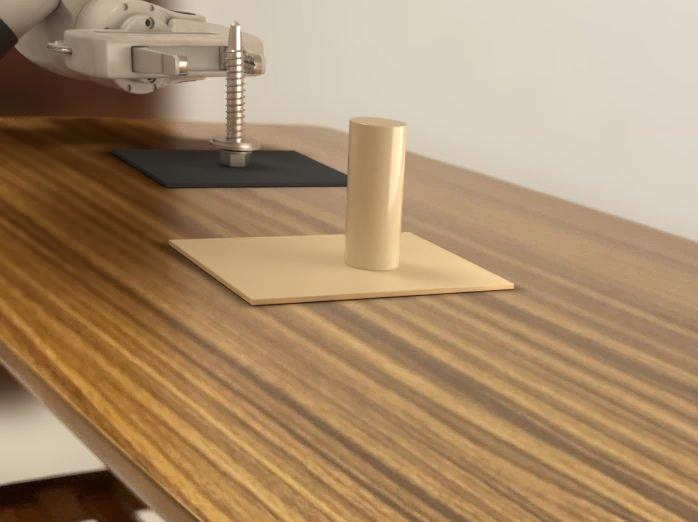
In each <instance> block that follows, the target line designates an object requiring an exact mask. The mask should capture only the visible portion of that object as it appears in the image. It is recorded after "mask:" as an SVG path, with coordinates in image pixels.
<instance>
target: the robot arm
mask: <svg viewBox="0 0 698 522" xmlns="http://www.w3.org/2000/svg"><path fill="white" fill-rule="evenodd" d="M229 30H230V27H228V26H224V25H222V24H216V23H212V22H207V19H206V16H204V15H203V14H200V13H194V12H189V11H179V10H173V9H168V8H165V7H162V6H160V5H158V4H154V3H151V2H148V1H146V0H0V61H1V60H2V59H3V58H4V57H5V56H7V54H8V53H10V52H11V50H12V49H13V48H15V49H16V50H17V51H18V52H19V53H20V55H23V56H24V57H25V58H26V59H27V60H28V61H30V62H31V63H34V64H35V65H37V66H39V67H40V68H43V69H44V70H46V71H49V72H51V73H54V74H57V75H58V76H62V77H65V78H68V79H72V80H73V79H74V80H77V81H82V82H93V83H94V84H96V85H99V86H101V87H104V88H105V87H106V88H108V89H109V88H110V89H112V90H113V89H114V90H117V91H121V92H125V93H130V94H133V95H146V94H149V93H152V92H154V91H156V90H158V89H163V88H167V87H169V86H172V85H175V84H182V83H189V82H197V81H204V80H206V78H227V73H226V71H227V66H225V65H226V64H227V60H226V59H225V58H227V52H226V51H228V36H229ZM241 34H242V48H243V49H244V51H243V55H244V56H245V58H243V59H244V63H245V65H244V69H245V71H244V76H245V77H246V78H247V77H248V78H249V77H250V78H251V77H255V78H256V77H260V76H262V75H264V74H265V73H266V62H267V61H266V57H265V53H264V50H265V49H264V43H263V41H262V39H260V38H259V37H258V36H256V35H254V34H250V33H248V32H245V31H241Z"/></svg>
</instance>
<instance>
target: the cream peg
mask: <svg viewBox="0 0 698 522" xmlns="http://www.w3.org/2000/svg"><path fill="white" fill-rule="evenodd" d="M348 120H349V122H348V147H347V148H348V149H347V172H346V173H347V174H346V175H347V186H346V196H345V197H346V201H345V227H344V234H345V251H344V262H345V264H347V265H348V266H351V267H354V268H358V269H363V270H372V271H387V270H393V269H396V268H398V267H399V259H400V241H401V232H402V224H403V223H402V221H403V205H404V188H405V187H404V186H405V171H406V170H405V169H406V152H407V135H408V133H407V131H408V124H407V123H406V122H404V121H401V120H397V119H391V118H384V117H375V116H353V117H350V118H349V119H348Z"/></svg>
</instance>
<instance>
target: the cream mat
mask: <svg viewBox="0 0 698 522" xmlns="http://www.w3.org/2000/svg"><path fill="white" fill-rule="evenodd" d="M168 245H169V246H170V247H171V248H173V249H174V250H175V251H177V252H178V253H179V254H181V255H182V256H184V257H185V258H186V259H187V260H189V261H190V262H191V263H193V264H194V265H196V266H197V267H198V268H200V269H201V270H203V271H204V272H205V273H207V274H208V275H209V276H211V277H212V278H214V279H215V280H216V281H218V282H219V283H221V284H222V285H223V286H225V287H226V288H227V289H229V290H230V291H232V292H233V293H235V294H236V295H237V296H238V297H240V298H241V299H243V300H244V301H245V302H247V303H248V304H249V305H251V306H263V305H280V304H294V303H295V304H296V303H311V302H327V301H344V300H345V301H346V300H356V299H357V300H359V299H374V298H392V297H406V296H407V297H408V296H420V295H421V296H422V295H438V294H439V295H440V294H454V293H471V292H487V291H503V290H514V289H515V283H514V282H511V281H510V280H508V279H505V278H503V277H501V276H499V275H498V274H495V273H494V272H491V271H489V270H487V269H485V268H484V267H481V266H480V265H478V264H475V263H473V262H471V261H469V260H467V259H465V258H463V257H461V256H459V255H457V254H455V253H453V252H451V251H449V250H446V249H445V248H443V247H442V246H438V245H437V244H435V243H433V242H431V241H429V240H427V239H424V238H423V237H420V236H419V235H416V234H414V233H413V232H409V231H403V232H402V231H401V241H400V259H399V267H398V268H396V269H393V270H387V271H372V270H363V269H358V268H354V267H351V266H348V265H347V264H345V262H344V251H345V233H340V234H339V233H338V234H336V233H335V234H308V235H307V234H306V235H305V234H303V235H276V236H274V235H273V236H246V237H245V236H243V237H242V236H241V237H211V238H183V239H182V238H181V239H180V238H179V239H169V240H168Z"/></svg>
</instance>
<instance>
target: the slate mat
mask: <svg viewBox="0 0 698 522" xmlns="http://www.w3.org/2000/svg"><path fill="white" fill-rule="evenodd" d="M111 153H112V155H114V156H116V157H118V158H119V159H121V160H122V161H124V162H125V163H127V164H128V165H130V166H132V167H133V168H135V169H137V170H138V171H139V172H141V173H143V174H144V175H146V176H148V177H149V178H150V179H152V180H154V181H155V182H157V183H159V184H160V185H162V186H164V187H165V188H249V187H251V188H252V187H253V188H255V187H257V188H258V187H260V188H262V187H267V188H269V187H347V174H346V173H344V172H342V171H339V170H337V169H335V168H333V167H330V166H328V165H326V164H324V163H321V162H320V161H318V160H316V159H313V158H311V157H310V156H307V155H305V154H303V153H300V152H298V151H296V150H283V149H282V150H281V149H280V150H277V149H276V150H275V149H273V150H272V149H271V150H269V149H268V150H267V149H265V150H263V149H259V150H252V154H250V165H249V166H247V167H229V166H225V165H222V164H221V160H220V152H219V151H218V149H160V148H159V149H158V148H157V149H145V148H144V149H143V148H142V149H141V148H140V149H139V148H138V149H136V148H135V149H134V148H111Z"/></svg>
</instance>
